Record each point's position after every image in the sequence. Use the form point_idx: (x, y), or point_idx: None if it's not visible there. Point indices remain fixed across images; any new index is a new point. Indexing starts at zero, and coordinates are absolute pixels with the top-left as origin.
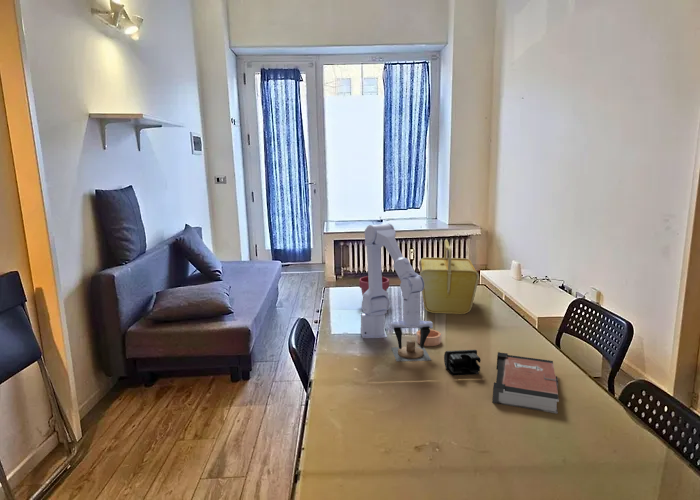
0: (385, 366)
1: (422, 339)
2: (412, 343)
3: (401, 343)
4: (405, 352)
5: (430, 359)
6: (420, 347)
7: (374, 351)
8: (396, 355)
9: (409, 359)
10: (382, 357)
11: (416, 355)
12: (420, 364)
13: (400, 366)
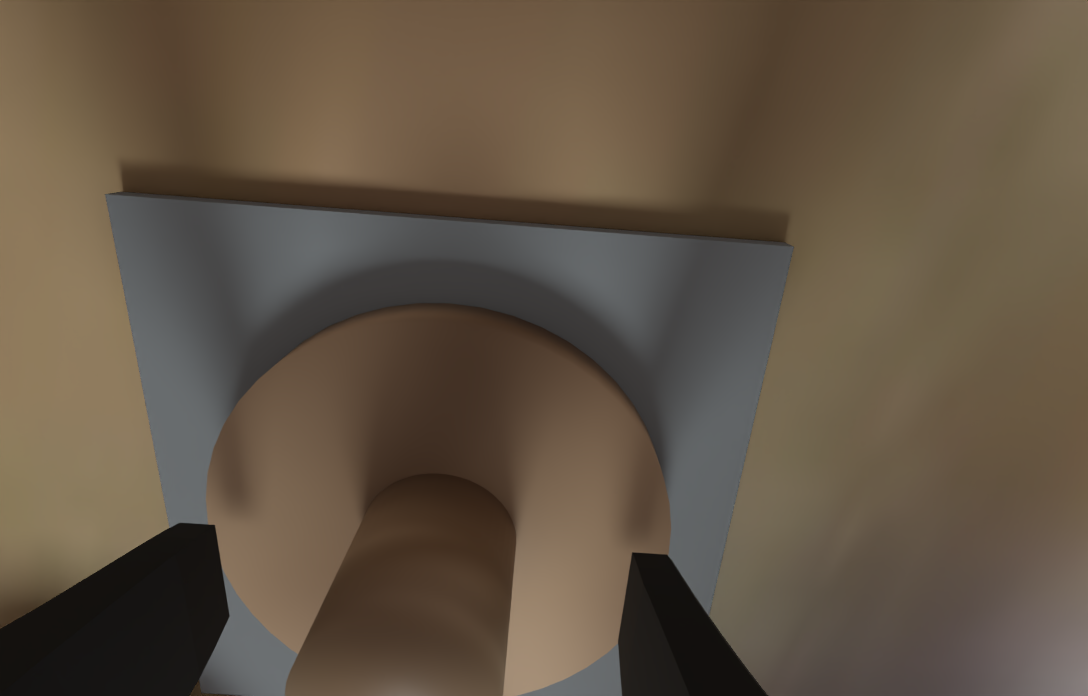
0: (1067, 94)
1: (16, 692)
2: (375, 616)
3: (669, 640)
4: (550, 493)
5: (125, 234)
6: (252, 674)
7: (949, 659)
8: (703, 474)
9: (526, 290)
10: (931, 466)
11: (370, 342)
12: (355, 84)
13: (778, 47)
